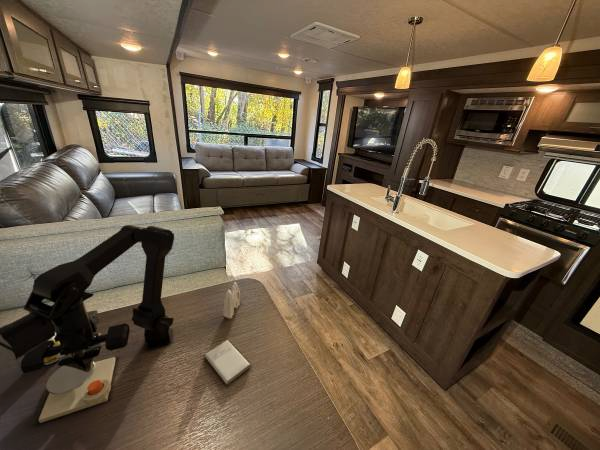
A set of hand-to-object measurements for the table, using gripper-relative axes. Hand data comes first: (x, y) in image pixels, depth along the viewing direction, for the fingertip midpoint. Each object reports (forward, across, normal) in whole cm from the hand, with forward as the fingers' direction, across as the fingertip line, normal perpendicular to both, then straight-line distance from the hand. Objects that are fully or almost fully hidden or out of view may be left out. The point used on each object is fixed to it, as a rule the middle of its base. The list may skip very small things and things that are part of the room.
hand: (89, 370), depth 61 cm
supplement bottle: (+10, +14, -18) cm, 25 cm away
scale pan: (+7, +6, -6) cm, 11 cm away
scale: (+10, +4, -4) cm, 12 cm away
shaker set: (+10, -39, -19) cm, 44 cm away
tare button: (+7, 0, 0) cm, 7 cm away
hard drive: (+10, -33, +3) cm, 34 cm away
